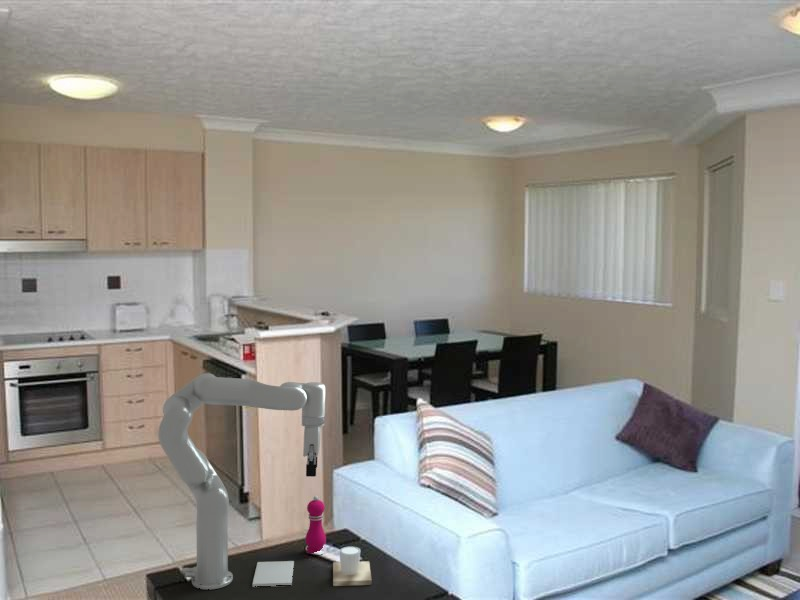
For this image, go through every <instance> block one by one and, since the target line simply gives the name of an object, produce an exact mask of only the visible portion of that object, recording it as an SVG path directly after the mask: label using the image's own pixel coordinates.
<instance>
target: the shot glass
mask: <svg viewBox="0 0 800 600" xmlns="http://www.w3.org/2000/svg"><path fill="white" fill-rule="evenodd" d="M361 550H362V549H361V548H360V547H357V546H345V547H341V548H340V549H339V562H340V563H341V572H342V574H344V575H355V574H357V573H358V572H359V562H361V561H360V560H361V559H360V558H361V553H362V551H361Z"/></svg>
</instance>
